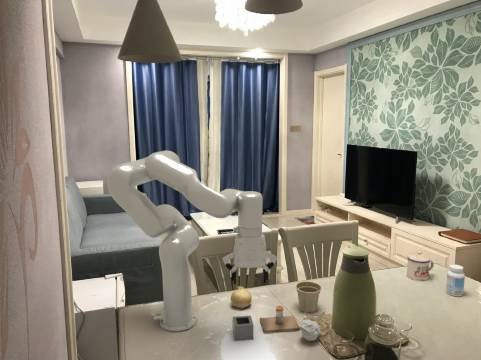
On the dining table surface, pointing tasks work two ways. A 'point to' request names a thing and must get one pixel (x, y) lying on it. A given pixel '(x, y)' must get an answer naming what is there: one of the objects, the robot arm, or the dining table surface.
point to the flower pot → (308, 295)
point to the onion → (241, 298)
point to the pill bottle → (455, 280)
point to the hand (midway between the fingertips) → (249, 282)
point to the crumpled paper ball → (309, 330)
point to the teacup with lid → (419, 266)
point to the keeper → (279, 322)
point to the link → (242, 328)
